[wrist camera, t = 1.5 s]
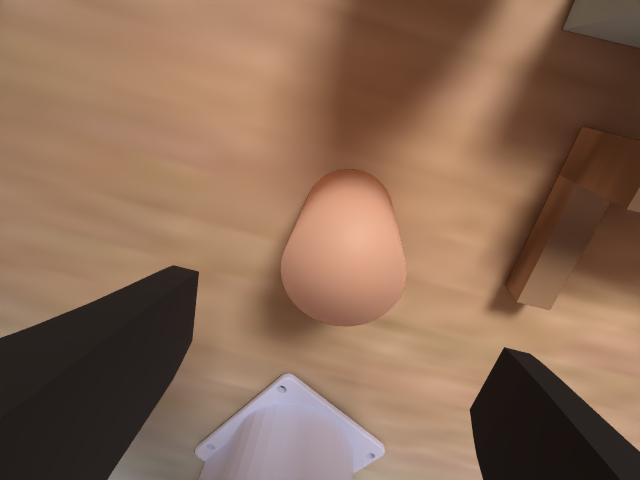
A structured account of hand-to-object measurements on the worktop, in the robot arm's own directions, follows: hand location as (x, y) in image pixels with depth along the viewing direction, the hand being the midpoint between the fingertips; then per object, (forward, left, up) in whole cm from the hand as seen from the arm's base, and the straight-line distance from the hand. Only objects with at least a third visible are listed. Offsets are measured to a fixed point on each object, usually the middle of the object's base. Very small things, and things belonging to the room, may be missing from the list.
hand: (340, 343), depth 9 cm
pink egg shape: (0, 0, -10) cm, 10 cm away
